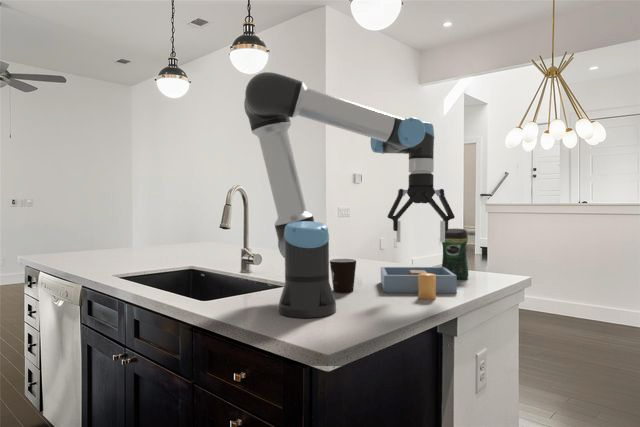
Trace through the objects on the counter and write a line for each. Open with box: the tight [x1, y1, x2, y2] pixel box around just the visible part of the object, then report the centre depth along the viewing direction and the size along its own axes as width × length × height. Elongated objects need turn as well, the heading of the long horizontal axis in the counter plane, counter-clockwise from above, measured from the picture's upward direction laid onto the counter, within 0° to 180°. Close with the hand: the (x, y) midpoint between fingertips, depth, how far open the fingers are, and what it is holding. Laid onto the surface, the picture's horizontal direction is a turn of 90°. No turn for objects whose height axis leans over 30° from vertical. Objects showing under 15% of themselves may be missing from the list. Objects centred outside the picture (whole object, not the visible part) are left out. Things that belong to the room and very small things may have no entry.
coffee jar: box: [441, 228, 469, 280], centre depth 162 cm, size 10×8×19 cm
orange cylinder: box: [417, 273, 437, 301], centre depth 128 cm, size 5×5×7 cm
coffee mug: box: [329, 258, 357, 294], centre depth 141 cm, size 12×9×10 cm
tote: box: [380, 266, 458, 294], centre depth 144 cm, size 18×22×6 cm
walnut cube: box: [409, 270, 427, 275], centre depth 140 cm, size 5×5×5 cm
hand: (420, 241), depth 134 cm, fingers open, 13 cm apart
